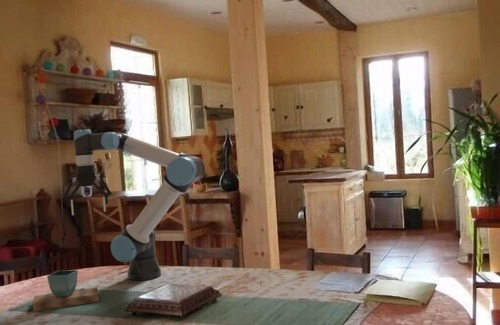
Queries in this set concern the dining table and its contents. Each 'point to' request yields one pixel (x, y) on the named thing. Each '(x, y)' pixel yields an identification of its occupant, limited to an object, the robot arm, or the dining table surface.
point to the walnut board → (65, 299)
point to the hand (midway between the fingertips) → (89, 213)
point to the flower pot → (63, 282)
